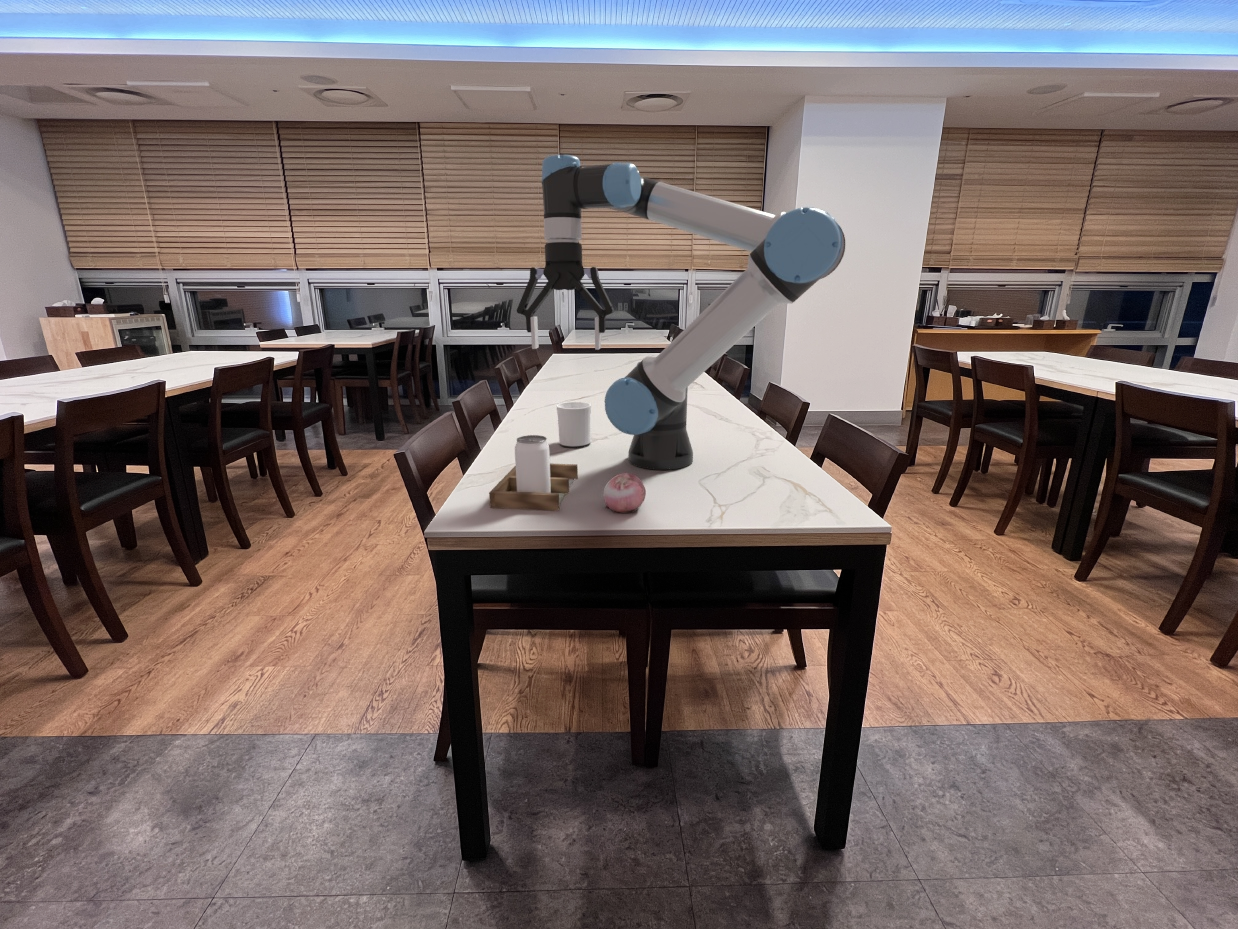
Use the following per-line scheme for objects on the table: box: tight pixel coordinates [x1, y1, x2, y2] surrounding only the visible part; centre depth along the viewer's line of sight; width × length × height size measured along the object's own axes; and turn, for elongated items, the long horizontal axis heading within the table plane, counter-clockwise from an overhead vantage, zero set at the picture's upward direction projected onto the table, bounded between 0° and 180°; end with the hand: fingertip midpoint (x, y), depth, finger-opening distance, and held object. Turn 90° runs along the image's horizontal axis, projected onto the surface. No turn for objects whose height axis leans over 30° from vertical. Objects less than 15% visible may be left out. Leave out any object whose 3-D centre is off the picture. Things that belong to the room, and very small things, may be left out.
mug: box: [556, 401, 592, 449], centre depth 151 cm, size 11×9×10 cm
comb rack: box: [488, 463, 579, 511], centre depth 118 cm, size 13×19×3 cm
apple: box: [602, 472, 647, 514], centre depth 108 cm, size 8×8×7 cm
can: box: [514, 434, 551, 493], centre depth 112 cm, size 6×6×12 cm
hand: (566, 348), depth 125 cm, fingers open, 13 cm apart
